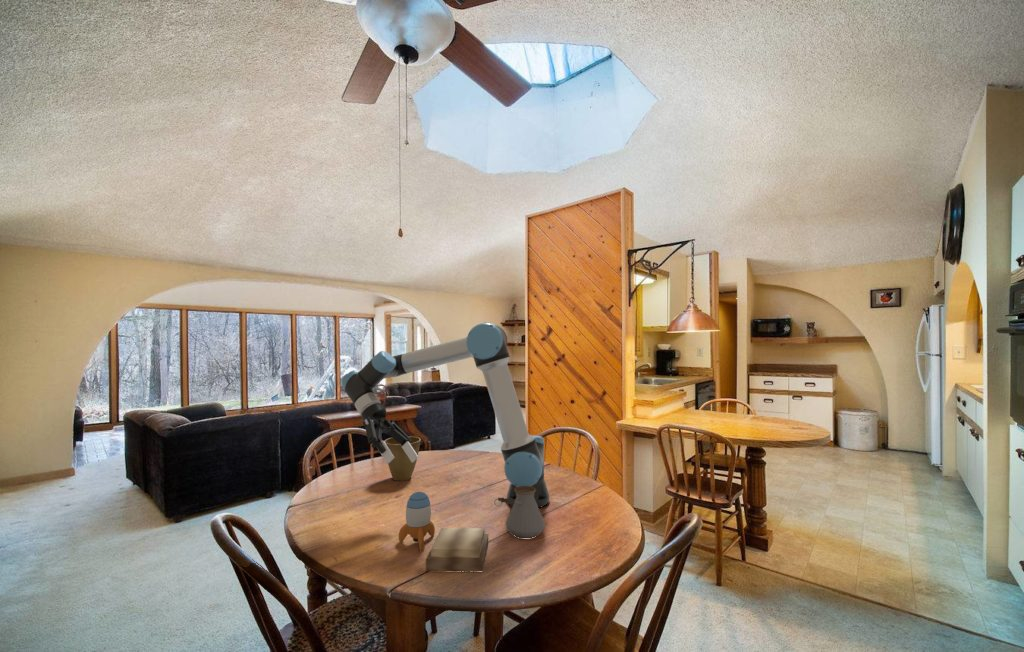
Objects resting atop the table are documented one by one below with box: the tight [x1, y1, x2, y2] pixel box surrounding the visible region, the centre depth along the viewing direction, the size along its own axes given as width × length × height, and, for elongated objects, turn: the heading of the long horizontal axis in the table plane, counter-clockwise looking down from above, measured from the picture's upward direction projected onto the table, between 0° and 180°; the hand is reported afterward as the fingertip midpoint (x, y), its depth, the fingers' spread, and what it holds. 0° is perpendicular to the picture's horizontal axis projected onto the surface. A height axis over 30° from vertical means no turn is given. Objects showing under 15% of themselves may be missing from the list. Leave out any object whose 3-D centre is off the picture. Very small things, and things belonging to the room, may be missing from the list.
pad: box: [425, 527, 489, 573], centre depth 109 cm, size 14×14×5 cm
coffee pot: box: [493, 486, 546, 538], centre depth 119 cm, size 21×12×15 cm, turn 150°
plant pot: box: [384, 435, 421, 481], centre depth 176 cm, size 15×15×16 cm
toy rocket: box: [398, 491, 436, 553], centre depth 117 cm, size 10×11×15 cm
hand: (403, 460), depth 131 cm, fingers open, 13 cm apart
